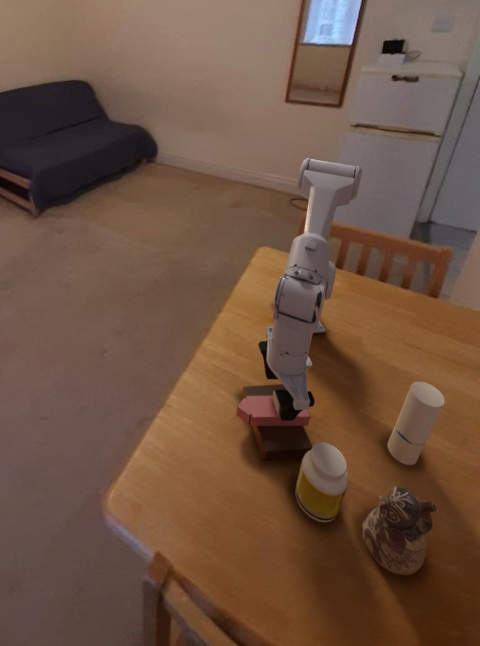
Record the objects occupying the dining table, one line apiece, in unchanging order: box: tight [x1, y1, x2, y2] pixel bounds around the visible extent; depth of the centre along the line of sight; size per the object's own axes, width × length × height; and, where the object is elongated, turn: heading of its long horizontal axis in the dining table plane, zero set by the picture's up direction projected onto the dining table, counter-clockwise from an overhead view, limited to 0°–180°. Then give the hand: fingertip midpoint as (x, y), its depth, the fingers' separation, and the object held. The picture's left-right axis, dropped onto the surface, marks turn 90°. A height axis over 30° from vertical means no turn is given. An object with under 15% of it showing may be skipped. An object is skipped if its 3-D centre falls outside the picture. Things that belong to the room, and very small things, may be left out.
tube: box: [387, 380, 445, 466], centre depth 66 cm, size 4×4×15 cm
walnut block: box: [241, 383, 313, 463], centre depth 73 cm, size 12×8×3 cm, turn 3°
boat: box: [236, 390, 311, 427], centre depth 72 cm, size 12×4×5 cm, turn 89°
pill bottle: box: [294, 441, 349, 523], centre depth 61 cm, size 6×6×11 cm
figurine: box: [362, 485, 438, 576], centre depth 55 cm, size 7×7×12 cm
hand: (279, 397), depth 71 cm, fingers open, 7 cm apart
